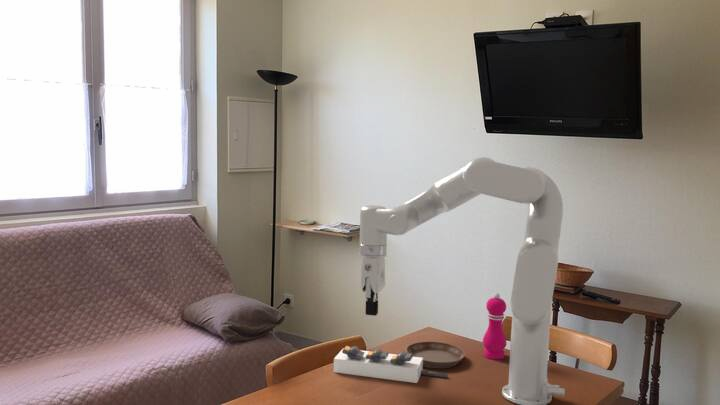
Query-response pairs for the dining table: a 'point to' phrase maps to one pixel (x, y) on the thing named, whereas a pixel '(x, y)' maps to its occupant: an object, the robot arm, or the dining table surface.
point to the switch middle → (377, 355)
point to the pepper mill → (495, 329)
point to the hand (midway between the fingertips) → (371, 314)
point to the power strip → (383, 368)
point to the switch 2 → (401, 358)
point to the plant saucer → (436, 354)
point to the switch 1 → (353, 352)
